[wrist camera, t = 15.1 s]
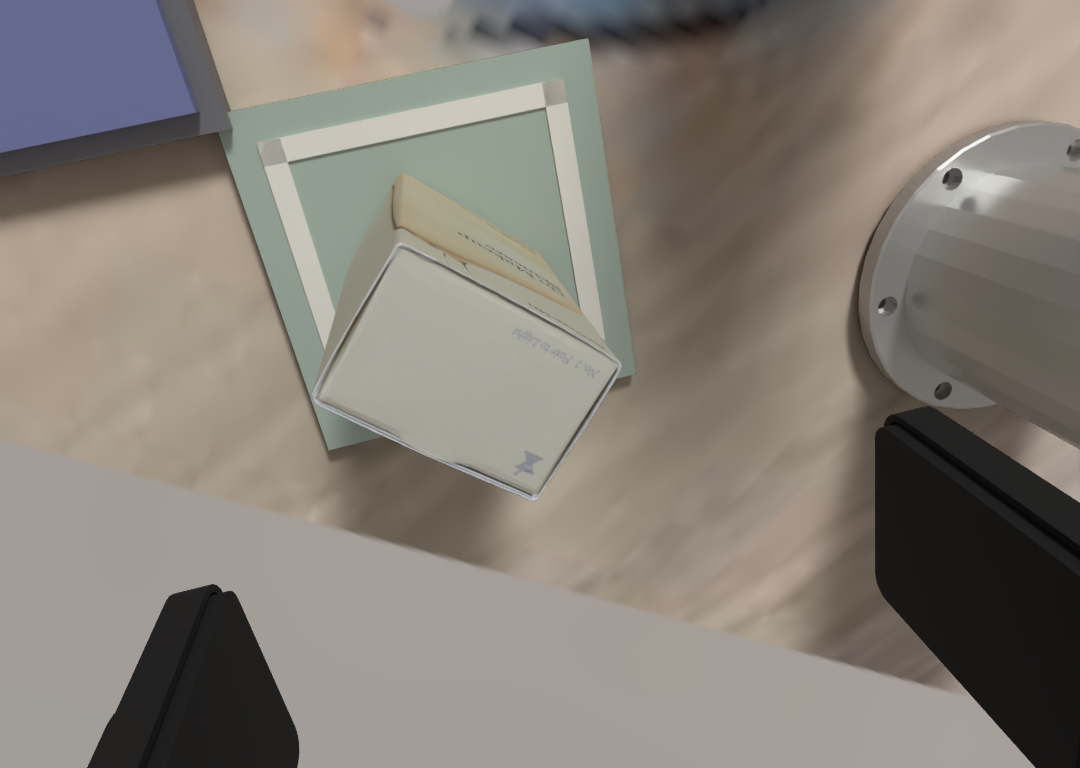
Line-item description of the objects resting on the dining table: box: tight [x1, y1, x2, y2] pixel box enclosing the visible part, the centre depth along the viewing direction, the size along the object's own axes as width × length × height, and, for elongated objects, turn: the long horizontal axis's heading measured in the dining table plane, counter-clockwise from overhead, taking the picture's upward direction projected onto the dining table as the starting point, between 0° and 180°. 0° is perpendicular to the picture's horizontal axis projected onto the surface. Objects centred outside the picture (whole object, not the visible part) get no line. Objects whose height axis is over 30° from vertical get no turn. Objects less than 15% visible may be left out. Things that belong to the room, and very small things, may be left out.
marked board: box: [218, 38, 636, 450], centre depth 29 cm, size 13×13×1 cm
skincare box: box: [312, 173, 622, 501], centre depth 23 cm, size 6×4×12 cm
